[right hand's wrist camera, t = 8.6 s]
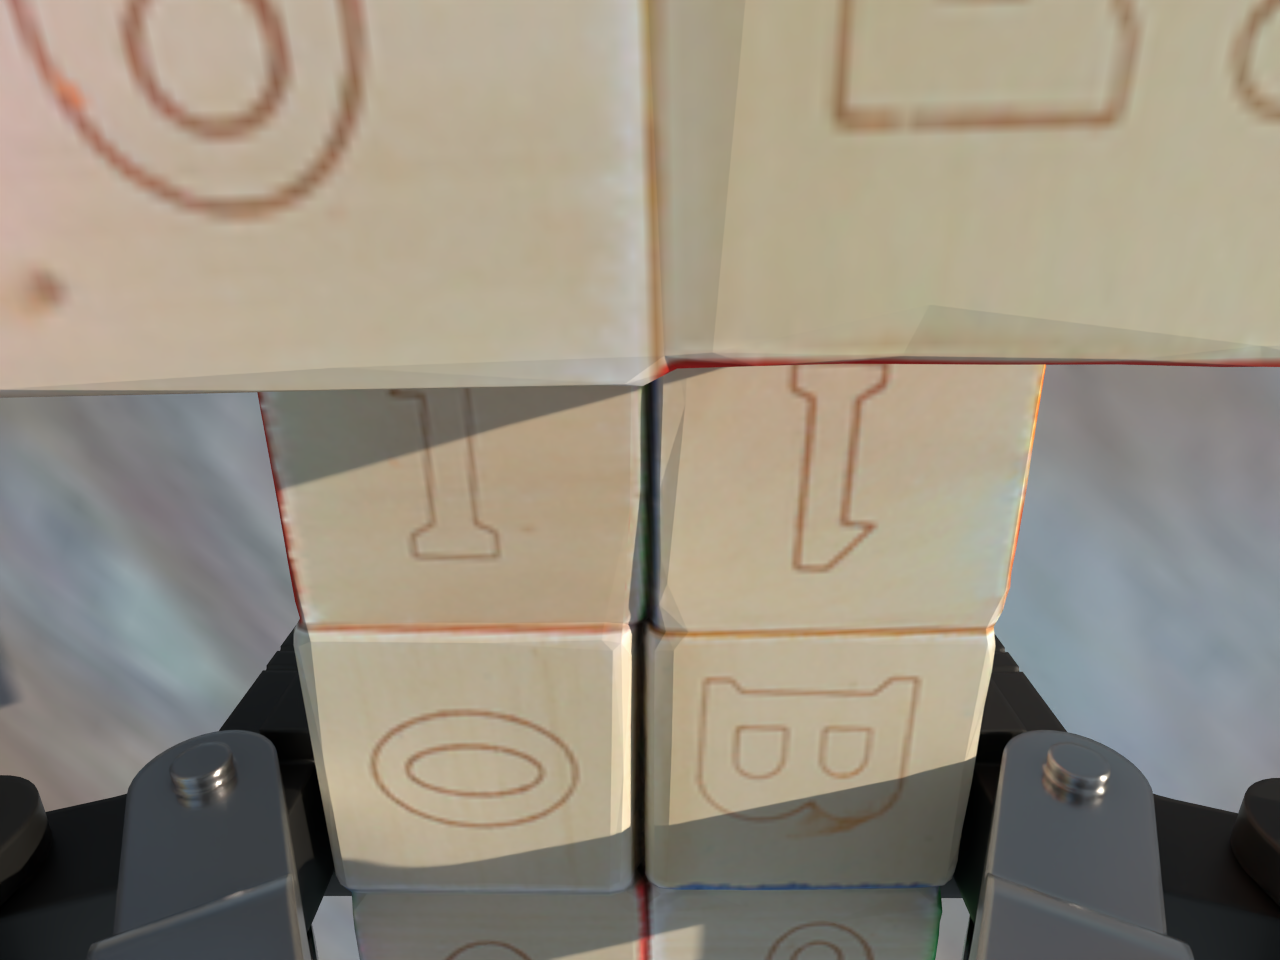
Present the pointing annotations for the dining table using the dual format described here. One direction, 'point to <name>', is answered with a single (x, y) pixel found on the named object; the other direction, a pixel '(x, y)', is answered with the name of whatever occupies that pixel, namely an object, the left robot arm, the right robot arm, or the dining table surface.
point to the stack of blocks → (639, 399)
